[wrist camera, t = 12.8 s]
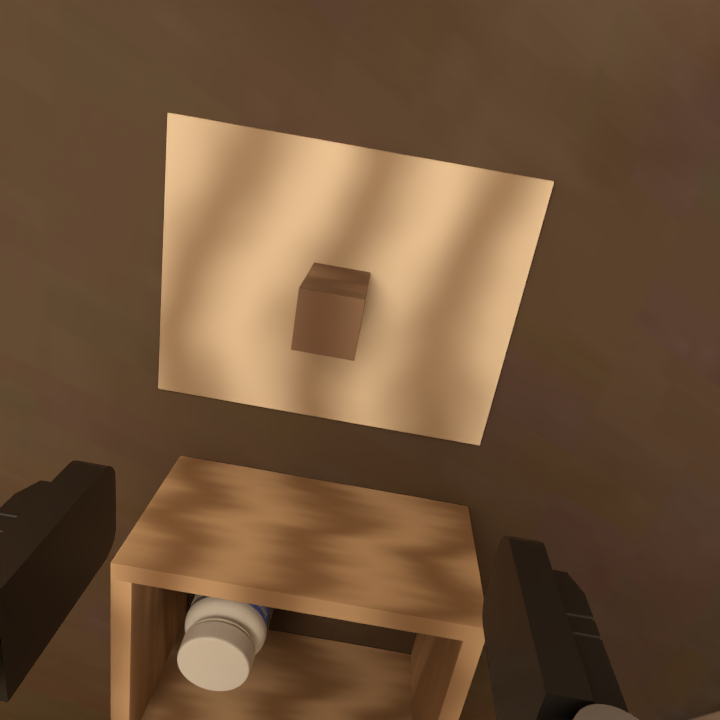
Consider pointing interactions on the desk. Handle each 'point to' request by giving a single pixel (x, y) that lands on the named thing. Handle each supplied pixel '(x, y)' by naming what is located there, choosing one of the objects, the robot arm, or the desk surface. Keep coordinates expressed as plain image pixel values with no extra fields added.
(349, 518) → the box
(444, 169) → the lid
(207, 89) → the desk surface
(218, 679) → the pill bottle
